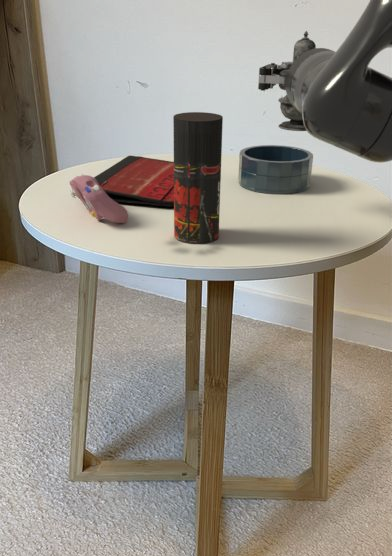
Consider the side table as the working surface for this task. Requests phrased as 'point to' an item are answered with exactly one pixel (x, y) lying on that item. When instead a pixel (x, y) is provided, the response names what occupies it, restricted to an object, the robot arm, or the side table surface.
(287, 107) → the salt shaker
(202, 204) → the deodorant
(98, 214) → the video game controller
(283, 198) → the side table surface
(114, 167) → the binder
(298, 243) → the side table surface
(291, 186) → the pot
